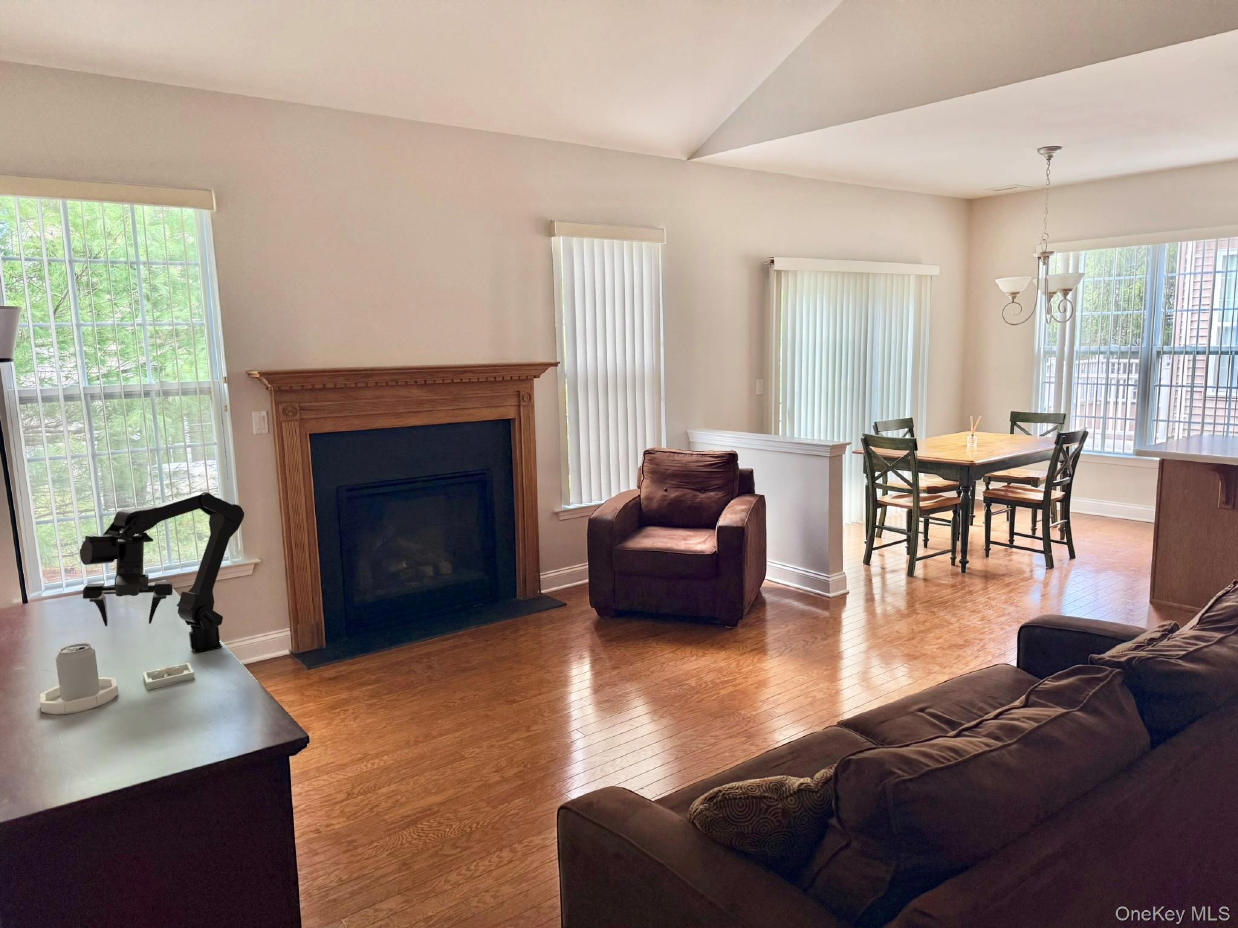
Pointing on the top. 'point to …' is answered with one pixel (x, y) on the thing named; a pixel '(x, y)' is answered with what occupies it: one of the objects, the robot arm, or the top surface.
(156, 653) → the top surface
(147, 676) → the pebble tray
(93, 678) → the can
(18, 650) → the top surface
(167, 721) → the top surface
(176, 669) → the pebbles
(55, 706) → the bowl
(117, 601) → the top surface
